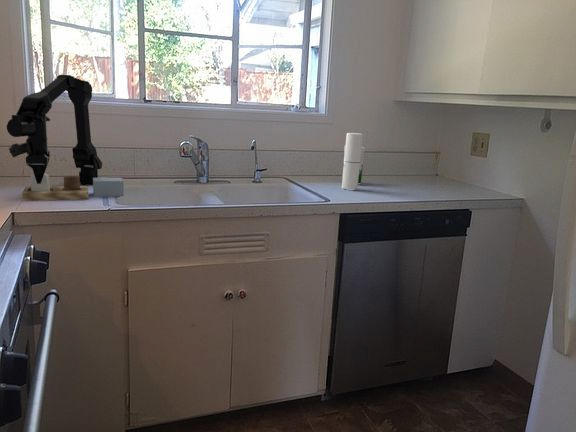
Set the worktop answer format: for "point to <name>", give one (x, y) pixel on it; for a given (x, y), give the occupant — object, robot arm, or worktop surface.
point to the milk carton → (360, 163)
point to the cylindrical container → (352, 160)
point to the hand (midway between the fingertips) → (39, 181)
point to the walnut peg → (71, 183)
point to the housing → (108, 187)
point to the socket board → (55, 194)
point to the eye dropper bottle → (40, 187)
